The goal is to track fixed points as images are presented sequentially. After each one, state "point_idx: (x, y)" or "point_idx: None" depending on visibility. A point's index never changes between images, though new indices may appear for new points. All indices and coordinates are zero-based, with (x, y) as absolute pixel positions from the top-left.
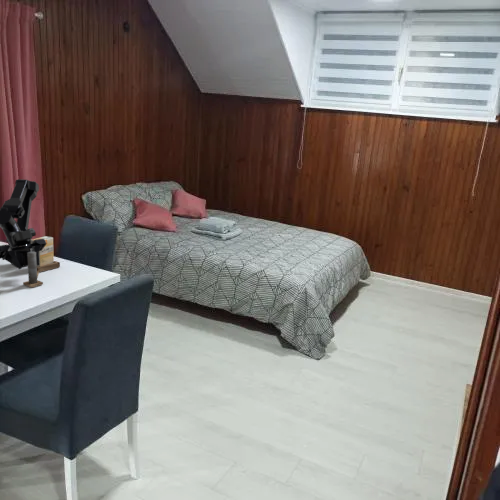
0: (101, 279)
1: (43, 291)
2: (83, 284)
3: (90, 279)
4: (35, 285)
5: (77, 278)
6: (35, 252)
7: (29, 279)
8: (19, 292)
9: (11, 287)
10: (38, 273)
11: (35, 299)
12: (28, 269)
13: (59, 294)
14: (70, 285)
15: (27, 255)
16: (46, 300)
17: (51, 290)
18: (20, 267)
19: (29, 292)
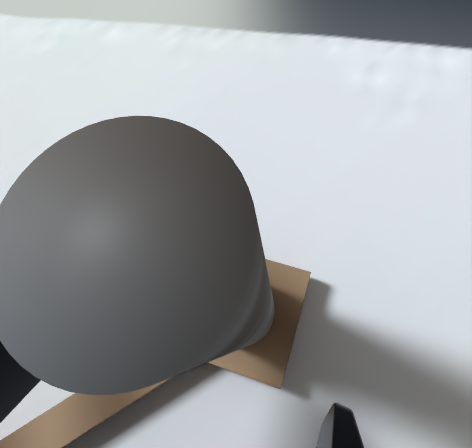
0: (6, 31)
1: (314, 167)
2: (107, 56)
3: (20, 72)
4: (273, 262)
5: (22, 139)
6: (48, 162)
7: (273, 317)
8: (426, 299)
9: (376, 445)
10: (14, 433)
11: (459, 120)
12: (266, 323)
13: (307, 62)
14: (148, 101)
15: (227, 341)
16: (429, 61)
17: (274, 138)
18: (349, 416)
19: (382, 234)
